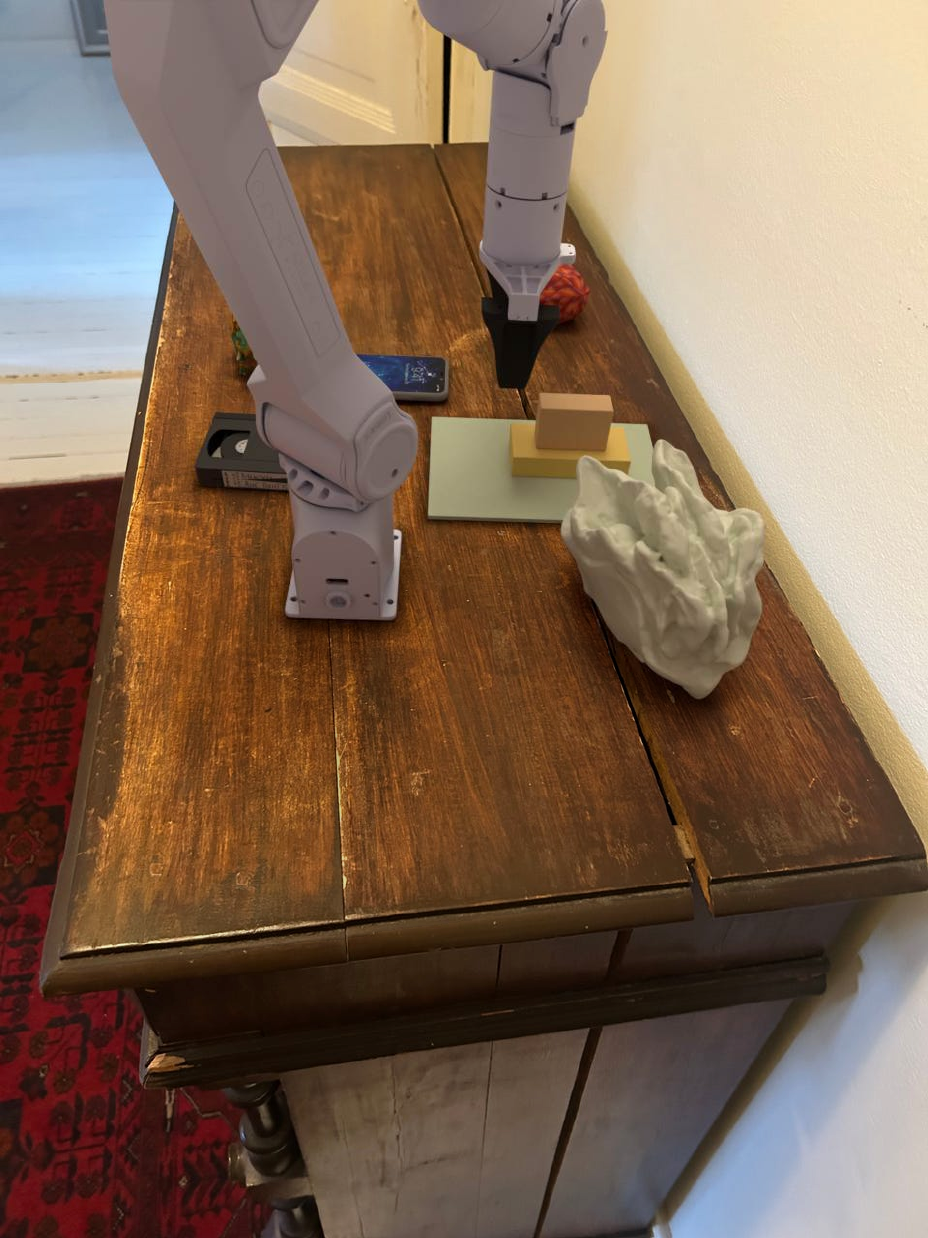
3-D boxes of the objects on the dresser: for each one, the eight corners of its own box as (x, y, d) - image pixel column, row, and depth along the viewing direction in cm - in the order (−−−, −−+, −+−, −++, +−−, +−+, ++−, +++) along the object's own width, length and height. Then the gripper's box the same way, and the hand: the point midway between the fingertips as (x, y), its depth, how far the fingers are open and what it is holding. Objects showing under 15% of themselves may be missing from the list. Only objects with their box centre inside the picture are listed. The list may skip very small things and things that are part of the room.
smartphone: (297, 349, 86) (449, 355, 86) (298, 358, 86) (449, 364, 87) (286, 389, 80) (448, 395, 81) (287, 398, 81) (448, 404, 82)
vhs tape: (197, 486, 72) (193, 466, 71) (219, 430, 78) (215, 411, 76) (368, 496, 72) (367, 477, 71) (378, 440, 78) (377, 421, 76)
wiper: (626, 480, 75) (640, 421, 70) (511, 476, 74) (517, 416, 70) (619, 445, 78) (632, 387, 74) (508, 441, 78) (514, 382, 73)
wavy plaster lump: (580, 638, 71) (543, 455, 66) (739, 605, 70) (716, 416, 64) (609, 757, 55) (563, 527, 49) (818, 718, 54) (797, 476, 48)
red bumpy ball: (562, 322, 98) (606, 325, 92) (512, 325, 95) (553, 329, 89) (563, 261, 96) (608, 260, 89) (511, 262, 93) (554, 261, 86)
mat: (670, 527, 71) (672, 523, 71) (427, 519, 71) (427, 515, 70) (646, 427, 81) (647, 424, 81) (431, 419, 80) (431, 416, 80)
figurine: (233, 392, 82) (219, 311, 76) (236, 328, 90) (223, 249, 84) (267, 390, 82) (255, 309, 76) (266, 326, 90) (256, 249, 84)
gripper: (594, 231, 55) (566, 413, 65) (575, 149, 65) (553, 317, 75) (484, 226, 55) (472, 409, 65) (482, 144, 65) (472, 314, 75)
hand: (510, 360), depth 70 cm, fingers open, 7 cm apart
